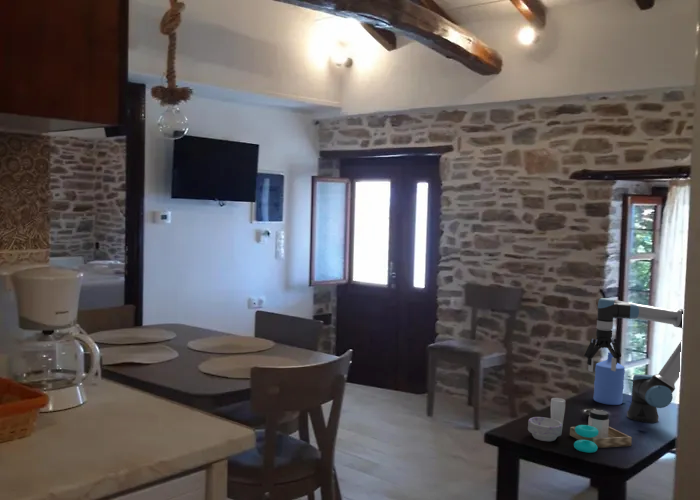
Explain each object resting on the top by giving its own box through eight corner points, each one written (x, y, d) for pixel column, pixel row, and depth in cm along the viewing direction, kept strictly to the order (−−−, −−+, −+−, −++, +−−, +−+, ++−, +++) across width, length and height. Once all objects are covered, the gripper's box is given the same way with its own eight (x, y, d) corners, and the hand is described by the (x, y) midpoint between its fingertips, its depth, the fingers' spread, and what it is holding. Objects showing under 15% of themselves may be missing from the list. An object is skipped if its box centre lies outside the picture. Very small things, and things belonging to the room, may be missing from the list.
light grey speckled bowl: (557, 446, 302) (558, 428, 302) (523, 439, 310) (524, 422, 309) (564, 437, 316) (565, 420, 315) (532, 431, 323) (533, 414, 323)
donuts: (575, 422, 305) (599, 426, 301) (574, 444, 306) (597, 448, 302) (574, 428, 296) (598, 432, 292) (572, 451, 297) (596, 455, 293)
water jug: (619, 407, 374) (622, 357, 373) (590, 401, 382) (593, 353, 381) (625, 401, 387) (628, 353, 386) (596, 396, 395) (599, 349, 394)
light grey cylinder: (547, 427, 329) (549, 397, 329) (561, 428, 329) (563, 398, 328) (551, 432, 323) (553, 401, 322) (565, 432, 322) (567, 401, 322)
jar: (598, 441, 308) (600, 415, 308) (584, 436, 315) (585, 411, 314) (611, 438, 313) (612, 413, 312) (596, 433, 320) (598, 408, 319)
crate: (605, 433, 324) (606, 425, 324) (631, 445, 307) (631, 437, 307) (569, 435, 319) (570, 426, 319) (593, 448, 302) (594, 439, 301)
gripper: (620, 327, 346) (617, 368, 347) (578, 328, 338) (576, 369, 339) (630, 330, 338) (627, 372, 339) (587, 330, 331) (585, 373, 332)
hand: (601, 371), depth 339 cm, fingers open, 13 cm apart
